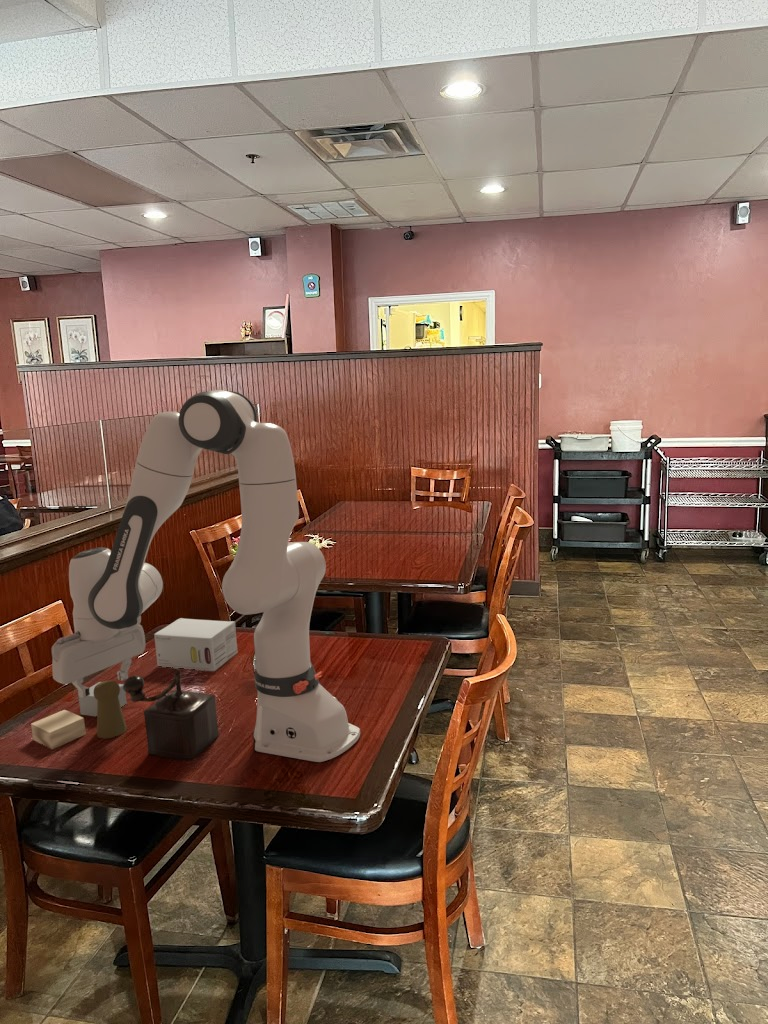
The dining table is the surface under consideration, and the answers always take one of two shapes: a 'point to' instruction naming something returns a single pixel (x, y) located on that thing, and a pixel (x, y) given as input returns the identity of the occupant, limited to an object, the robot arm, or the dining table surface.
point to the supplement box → (196, 644)
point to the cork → (109, 710)
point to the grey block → (90, 702)
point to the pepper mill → (176, 719)
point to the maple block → (58, 729)
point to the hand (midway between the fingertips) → (104, 687)
